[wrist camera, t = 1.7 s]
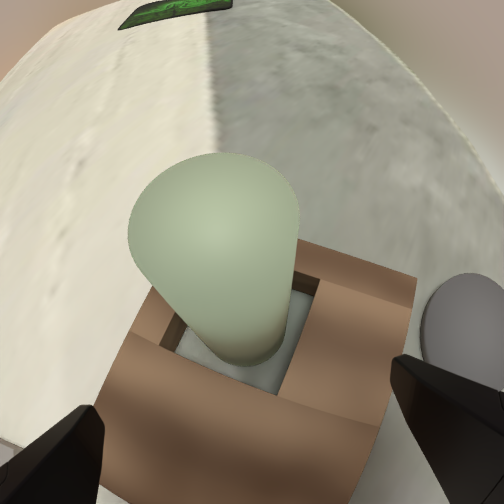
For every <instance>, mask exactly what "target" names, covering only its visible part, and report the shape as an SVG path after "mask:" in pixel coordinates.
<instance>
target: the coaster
mask: <svg viewBox="0 0 504 504" xmlns="http://www.w3.org/2000/svg"><path fill="white" fill-rule="evenodd" d="M420 342H421V350H422V355H423V359H424V362H427V363H429V364H432V365H434V366H437V367H439V368H442V369H444V370H447V371H450V372H452V373H455V374H457V375H460V376H462V377H465V378H467V379H470V380H473V381H475V382H478V383H480V384H483V385H486V386H488V387H491V388H494V389H496V390H498V392H499V391H501V390H502V389H503V388H504V290H503V289H502V287H501V286H499V285H498V284H497V283H496V282H494V281H493V280H491V279H490V278H488V277H486V276H483V275H480V274H475V273H464V274H460V275H457V276H454V277H452V278H451V279H449V280H448V281H446V282H445V283H444V284H443V285H442V286H441V287H440V288H438V290H437V291H436V292H435V293H434V294H433V295H432V297H431V298H430V300H429V302H428V303H427V305H426V308H425V310H424V313H423V317H422V321H421V329H420Z"/></svg>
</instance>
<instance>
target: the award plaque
mask: <svg viewBox="0 0 504 504" xmlns="http://www.w3.org/2000/svg"><path fill="white" fill-rule="evenodd" d="M22 450H23V448H21V447H18V446H16V445H14V444H12V443H9V442H7V441H5V440H3V439H1V438H0V467H1V466H2V465H3V464H5V463H6V462H9V460H10V459H11V458H13V457H14V456H15V455H16V454H18V453H19V452H20V451H22Z"/></svg>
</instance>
